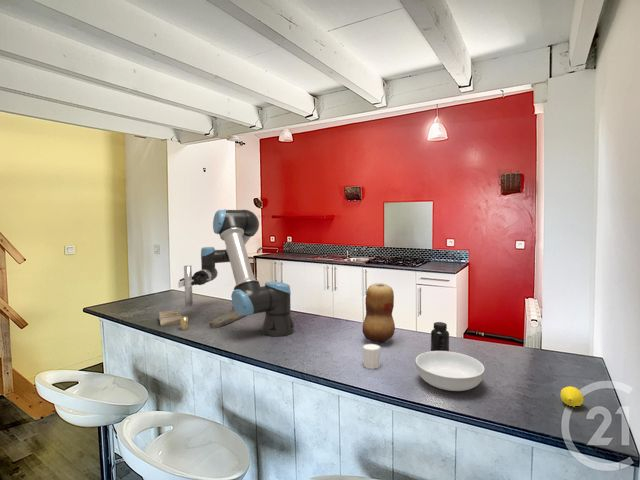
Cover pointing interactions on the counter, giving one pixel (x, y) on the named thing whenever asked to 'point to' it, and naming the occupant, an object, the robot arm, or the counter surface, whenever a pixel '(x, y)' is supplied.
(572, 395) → the lemon
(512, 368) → the counter surface
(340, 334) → the counter surface
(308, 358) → the counter surface
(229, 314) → the elongated rock
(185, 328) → the brass stub pin
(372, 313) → the butternut squash
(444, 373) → the serving bowl
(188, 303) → the steel pin
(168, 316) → the guide block
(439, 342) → the supplement bottle
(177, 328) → the counter surface
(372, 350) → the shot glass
